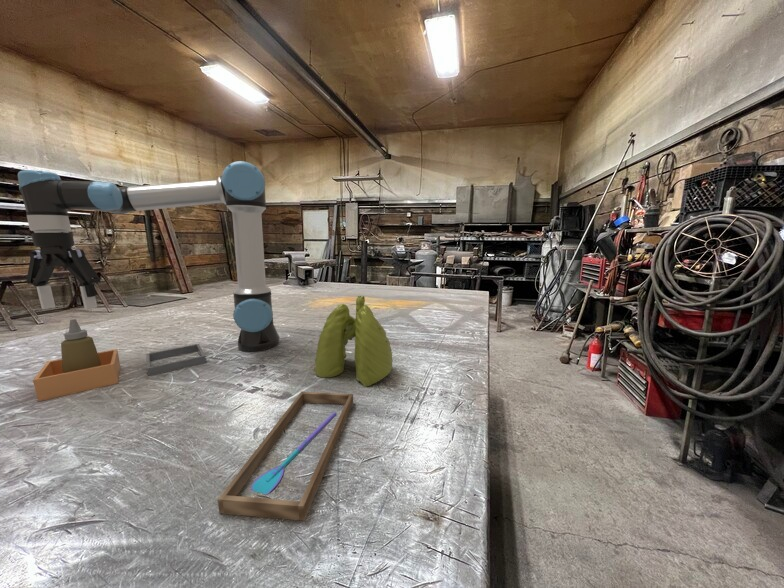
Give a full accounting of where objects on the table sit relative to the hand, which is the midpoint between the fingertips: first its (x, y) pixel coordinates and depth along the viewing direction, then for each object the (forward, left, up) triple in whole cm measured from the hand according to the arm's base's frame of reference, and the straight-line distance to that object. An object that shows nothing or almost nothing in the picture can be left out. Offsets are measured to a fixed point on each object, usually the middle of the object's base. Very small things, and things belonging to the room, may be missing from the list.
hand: (69, 308), depth 86 cm
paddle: (-76, +22, -23) cm, 82 cm away
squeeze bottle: (0, 0, -22) cm, 22 cm away
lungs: (-79, -13, -23) cm, 83 cm away
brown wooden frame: (-76, +21, -22) cm, 82 cm away
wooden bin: (0, 0, -22) cm, 22 cm away
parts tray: (-16, -16, -22) cm, 32 cm away
